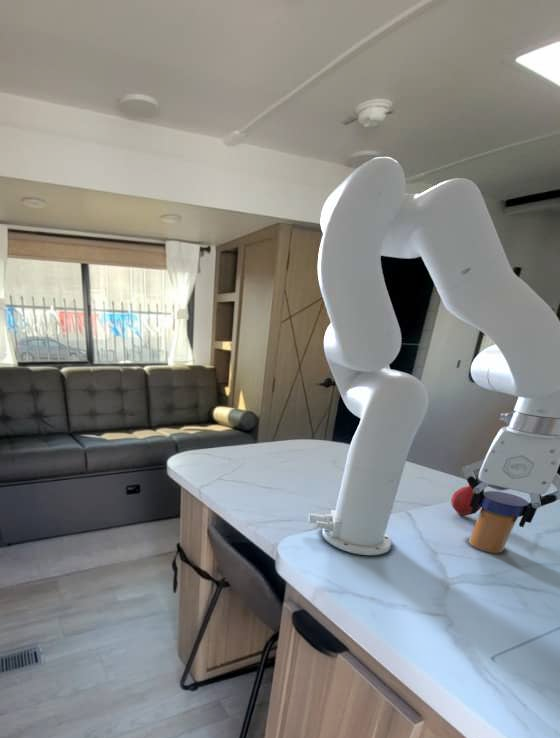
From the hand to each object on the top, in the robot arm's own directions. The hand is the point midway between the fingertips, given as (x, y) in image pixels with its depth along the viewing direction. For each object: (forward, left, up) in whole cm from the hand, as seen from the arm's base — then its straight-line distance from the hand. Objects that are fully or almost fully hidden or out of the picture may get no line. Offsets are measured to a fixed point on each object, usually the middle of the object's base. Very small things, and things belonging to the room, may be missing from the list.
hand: (497, 517), depth 77 cm
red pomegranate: (+1, +14, -6) cm, 15 cm away
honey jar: (0, 0, -6) cm, 6 cm away
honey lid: (0, 0, +4) cm, 4 cm away
